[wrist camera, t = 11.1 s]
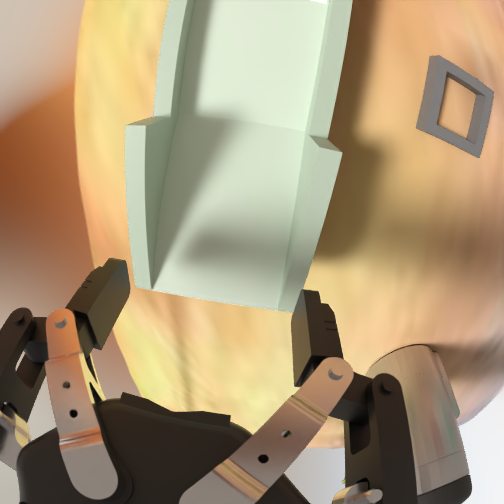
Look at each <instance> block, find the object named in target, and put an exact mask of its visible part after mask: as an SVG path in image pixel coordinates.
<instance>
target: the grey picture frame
mask: <svg viewBox="0 0 504 504" xmlns="http://www.w3.org/2000/svg"><path fill="white" fill-rule="evenodd" d="M446 76H448V77H450V78H451V79H453V80H455V81H456V82H458V83H460V84H461V85H463V86H464V87H466V88H468V89H469V90H471V91H472V92H474V93H475V94H476V99H475V105H474V110H473V114H472V119H471V124H470V128H469V132H468V136H467V140H466V139H464V138H462V137H461V136H459V135H457V134H455V133H453V132H451V131H449V130H447V129H445V128H443V127H441V126H439V125H437V120H438V115H439V111H440V106H441V101H442V96H443V91H444V86H445V80H446ZM493 95H494V91H492V90H491V89H490V88H488V87H487V86H486V85H484V84H483V83H482V82H480V81H479V80H477V79H476V78H475V77H473V76H472V75H470V74H469V73H467V72H466V71H464V70H462V69H461V68H459V67H458V66H456V65H455V64H453V63H451V62H450V61H448V60H446V59H444V58H443V57H441V56H439V55H438V56H430V59H429V66H428V72H427V78H426V83H425V89H424V94H423V99H422V104H421V108H420V113H419V117H418V121H417V125H416V128H417V129H419V130H422V131H424V132H426V133H429V134H431V135H433V136H435V137H437V138H440V139H442V140H444V141H446V142H448V143H450V144H452V145H454V146H456V147H458V148H460V149H462V150H464V151H466V152H468V153H469V154H471V155H473V156H475V157H477V158H480V154H481V151H482V147H483V143H484V139H485V135H486V131H487V127H488V122H489V117H490V112H491V107H492V101H493Z"/></svg>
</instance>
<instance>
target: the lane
mask: <svg viewBox="0 0 504 504" xmlns="http://www.w3.org/2000/svg"><path fill="white" fill-rule="evenodd" d="M352 2H353V0H169V4H168V8H167V13H166V18H165V24H164V29H163V35H162V41H161V48H160V55H159V62H158V70H157V79H156V88H155V99H154V111H153V117H151V118H147V119H144V120H141V121H137V122H134V123H131V124H128V125H126V127H125V179H126V202H127V217H128V229H129V239H130V249H131V257H132V265H133V273H134V280H135V286H136V287H138V288H143V289H148V290H153V291H159V292H164V293H169V294H174V295H180V296H185V297H191V298H197V299H203V300H209V301H215V302H221V303H227V304H234V305H241V306H247V307H254V308H262V309H269V310H277V311H284V312H292V313H293V312H294V309H295V306H296V303H297V300H298V297H299V294H300V291H301V290H302V289H303V287H304V284H305V281H306V278H307V275H308V272H309V269H310V266H311V262H312V259H313V256H314V253H315V250H316V247H317V243H318V240H319V237H320V234H321V230H322V227H323V223H324V220H325V217H326V213H327V210H328V206H329V203H330V199H331V195H332V192H333V188H334V184H335V181H336V177H337V173H338V169H339V165H340V161H341V157H342V152H341V151H340V150H339V149H338V148H337V147H336V146H335V145H333V144H332V143H331V142H330V141H329V140H328V134H329V130H330V125H331V120H332V116H333V111H334V106H335V101H336V96H337V91H338V86H339V81H340V76H341V70H342V65H343V59H344V54H345V48H346V42H347V36H348V29H349V23H350V16H351V9H352Z"/></svg>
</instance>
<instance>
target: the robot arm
mask: <svg viewBox="0 0 504 504" xmlns="http://www.w3.org/2000/svg"><path fill="white" fill-rule="evenodd" d="M129 294H130V282H129V276H128V269H127V263H126V261H125V260H120V259H115V258H109V259H108V260H107V262H106V263H105V264H104V266H103V267H100V266H99V267H98V268H96V269H95V270H94V271H92V272H91V273H90V274H89V275H88V277H87V278H86V279H85V281H84V282H83V283H82V285H81V287H80V288H79V289H78V290H77V292H76V293H75V295H74V296H73V297H72V299H71V300H70V302H69V303H68V305H67V306H66V307H65V309H63V308H61V309H57V310H55V311H53V312H52V313H50V315H49V316H48V317H33V315H32V313H31V311H30V310H29V309H27V308H19V309H16V310H15V311H13V312H12V313H11V314H10V316H9V317H8V319H7V320H6V322H5V324H4V325H3V327H2V328H1V330H0V460H1V461H2V462H4V463H5V464H7V465H8V466H9V467H11V468H12V469H14V470H16V471H17V477H18V482H19V490H20V502H19V504H310V503H309V502H308V501H307V499H306V498H305V497H304V496H303V495H302V494H301V493H300V492H299V490H298V489H297V488H296V487H295V486H294V485H293V483H292V482H291V481H290V480H289V479H288V478H287V477H286V475H285V474H284V472H285V471H286V470H287V468H288V467H289V466H290V465H291V464H292V463H293V462H294V460H295V459H296V458H297V457H298V456H299V454H300V453H301V452H302V451H303V450H304V449H305V447H306V446H307V445H308V444H309V442H310V441H311V440H312V439H313V437H314V436H315V435H316V433H317V432H318V431H319V430H320V428H321V427H322V426H323V424H324V423H325V421H326V420H327V417H328V416H331V417H334V418H338V419H341V420H344V439H345V489H342V490H340V491H339V492H338V493H337V494H336V495H335V496H334V498H333V500H332V504H462V503H463V502H464V501H465V500H466V499H467V498H468V497H469V496H470V495H471V492H472V483H471V478H470V475H468V474H469V469H468V463H467V459H466V454H465V451H464V446H463V442H462V438H461V435H460V431H459V427H458V424H457V420H456V418H458V417H459V415H460V411H459V408H458V404H457V401H456V399H455V396H454V393H453V390H452V387H451V384H450V382H449V379H448V376H447V374H446V371H445V369H444V366H443V364H442V361H441V359H440V356H439V354H438V352H432V350H431V349H430V348H429V347H427V346H423V345H415V346H409V347H405V348H402V349H399V350H397V351H394V352H392V353H390V354H388V355H386V356H385V357H383V358H382V359H380V360H379V361H378V362H376V363H375V364H374V365H373V366H372V367H371V368H370V369H369V371H368V373H367V375H366V376H363V375H360V374H357V373H355V372H353V369H352V367H351V366H350V364H349V363H348V362H346V361H345V360H344V358H343V353H342V348H341V343H340V338H339V333H338V331H337V330H338V329H337V324H336V319H335V315H334V312H333V311H332V309H331V308H330V306H329V305H328V304H324V303H321V300H320V295H319V292H318V291H312V290H305V289H302V290H301V291H300V294H299V297H298V300H297V303H296V306H295V309H294V312H293V315H292V321H291V332H292V350H293V371H294V387H301V388H300V389H299V390H298V391H297V392H296V393H295V394H294V395H292V396H291V397H290V398H289V399H288V400H287V401H286V402H285V403H284V404H283V405H282V406H281V407H280V408H279V409H278V410H277V411H276V412H275V413H274V414H273V416H272V417H271V418H270V419H269V420H268V421H267V422H266V423H265V424H264V425H263V426H262V427H261V428H260V429H259V430H258V431H257V432H256V433H255V434H254V435H252V434H251V433H250V432H249V431H248V430H246V429H244V428H243V427H241V426H239V425H237V424H235V423H232V422H230V418H231V415H225V414H218V413H211V412H205V411H193V412H173V411H170V410H168V409H166V408H164V407H162V406H160V405H158V404H156V403H154V402H152V401H150V400H148V399H146V398H142V397H138V396H135V395H131V394H127V393H125V392H123V393H122V395H121V398H116V399H115V398H114V399H107V400H106V398H105V396H104V394H103V392H102V389H101V387H100V383H99V380H98V377H97V374H96V370H95V367H94V363H93V359H92V356H91V351H92V349H93V348H96V349H99V350H102V348H103V346H104V344H105V342H106V340H107V338H108V336H109V334H110V332H111V330H112V328H113V326H114V324H115V322H116V320H117V318H118V316H119V314H120V313H121V311H122V309H123V307H124V305H125V303H126V301H127V299H128V297H129ZM23 350H24V352H25V355H24V357H23V359H22V361H21V363H20V365H19V367H18V369H17V371H16V370H15V368H16V364H17V362H18V360H19V358H20V356H21V354H22V352H23ZM45 376H47V382H48V388H49V394H50V399H51V404H52V409H53V413H54V417H55V422H56V425H57V427H56V428H54V429H52V430H50V431H49V432H47V433H45V434H43V435H42V436H40V437H38V438H36V439H35V440H33V441H31V436H30V434H29V428H28V425H27V421H28V419H29V416H30V413H31V411H32V408H33V405H34V403H35V400H36V398H37V395H38V393H39V390H40V388H41V385H42V383H43V381H44V378H45ZM30 441H31V442H30Z"/></svg>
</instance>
